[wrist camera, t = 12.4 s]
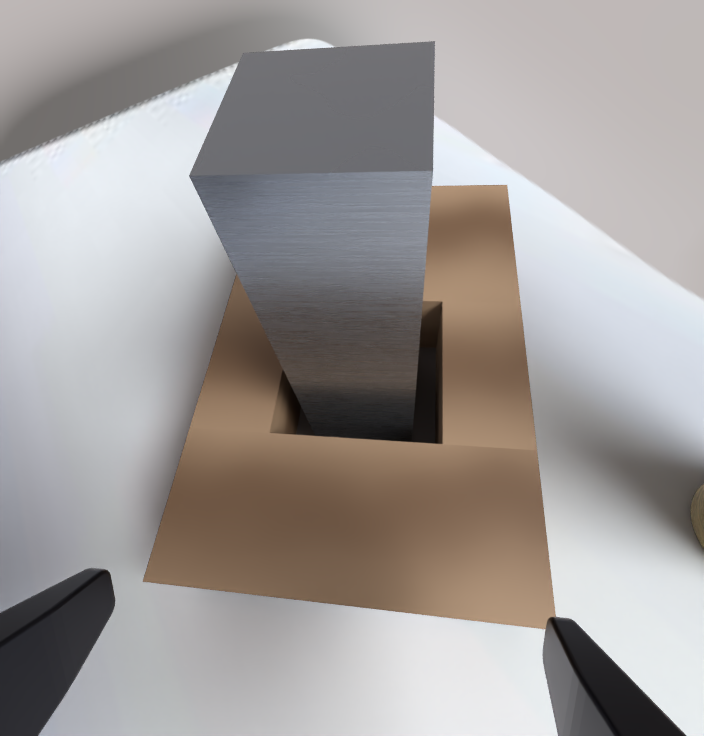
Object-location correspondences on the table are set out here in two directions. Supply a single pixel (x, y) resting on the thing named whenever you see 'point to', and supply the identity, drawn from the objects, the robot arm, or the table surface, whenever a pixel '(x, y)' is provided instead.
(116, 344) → the table surface
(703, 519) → the brass pin
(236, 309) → the bore block
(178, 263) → the table surface
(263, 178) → the grey rectangular block
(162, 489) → the table surface
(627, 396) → the table surface
